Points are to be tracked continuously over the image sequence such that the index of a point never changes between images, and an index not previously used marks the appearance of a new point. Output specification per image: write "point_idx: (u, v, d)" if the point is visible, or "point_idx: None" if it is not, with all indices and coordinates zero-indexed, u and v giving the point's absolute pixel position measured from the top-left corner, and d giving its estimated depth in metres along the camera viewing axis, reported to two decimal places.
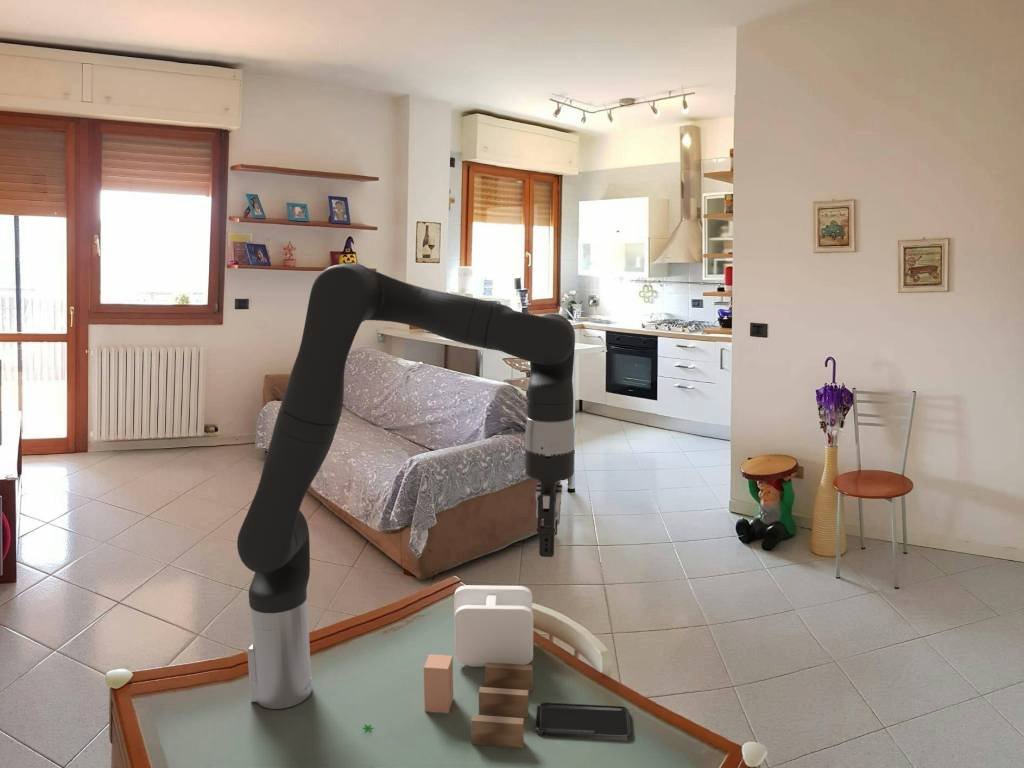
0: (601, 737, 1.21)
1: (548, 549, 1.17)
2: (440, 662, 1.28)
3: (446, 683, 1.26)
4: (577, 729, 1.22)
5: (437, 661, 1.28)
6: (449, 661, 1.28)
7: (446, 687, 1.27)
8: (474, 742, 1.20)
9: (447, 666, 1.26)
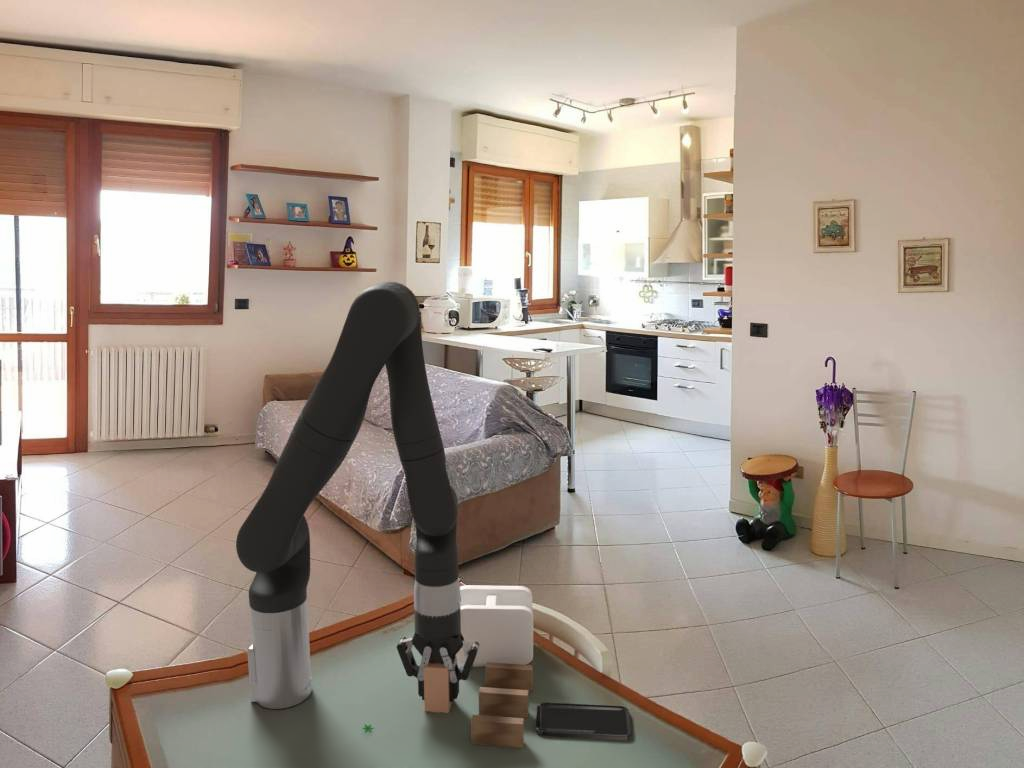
0: (601, 737, 1.21)
1: (458, 690, 1.29)
2: None
3: (446, 683, 1.26)
4: (577, 729, 1.22)
5: None
6: None
7: (446, 687, 1.27)
8: (474, 742, 1.20)
9: None
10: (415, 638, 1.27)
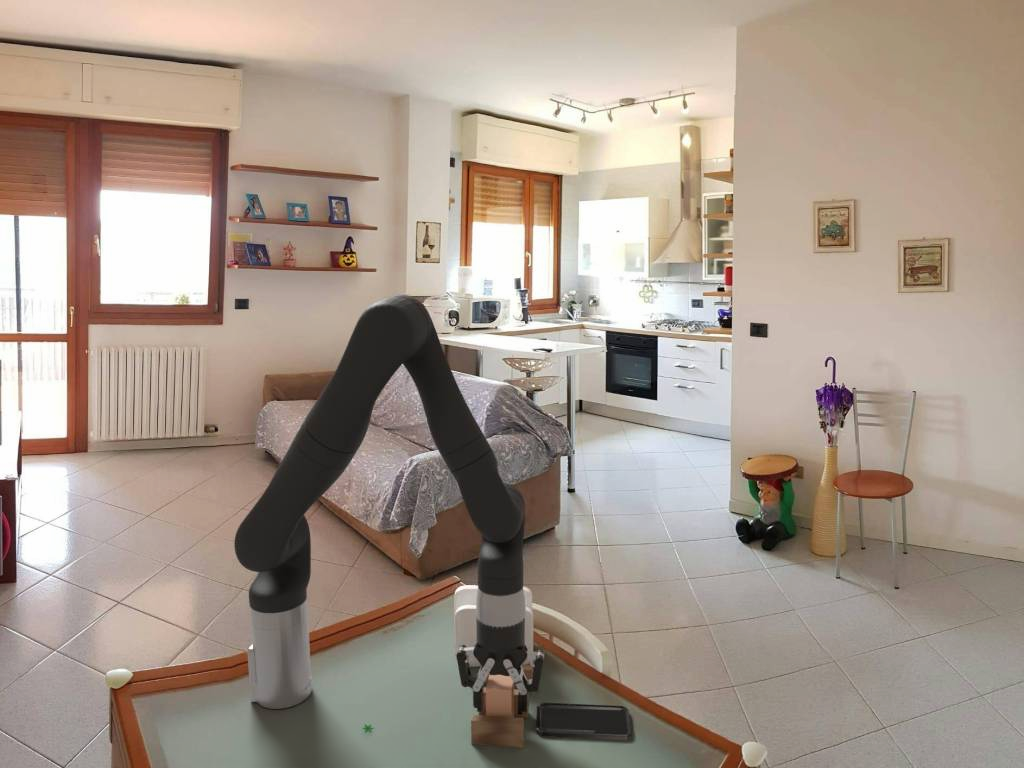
0: (602, 737, 1.21)
1: (527, 702, 1.23)
2: (502, 683, 1.22)
3: (509, 705, 1.21)
4: (577, 729, 1.22)
5: (499, 681, 1.22)
6: (511, 682, 1.22)
7: (509, 709, 1.21)
8: (474, 742, 1.20)
9: (510, 687, 1.21)
10: (478, 649, 1.20)
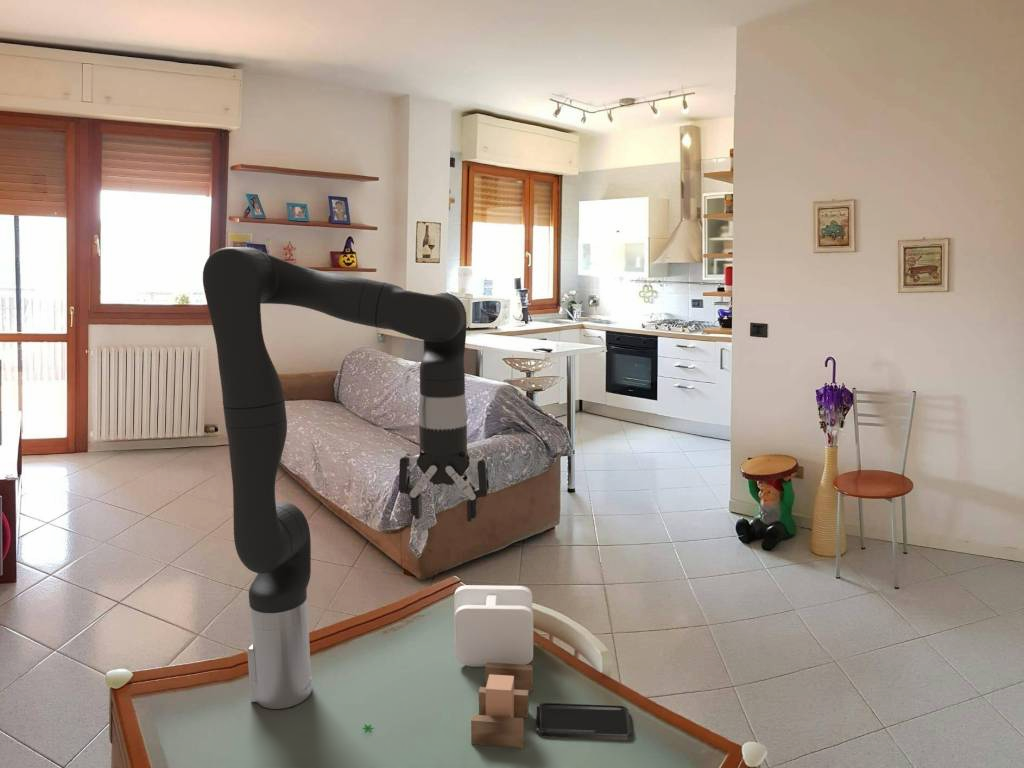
0: (602, 736, 1.21)
1: (476, 510, 1.25)
2: (502, 683, 1.22)
3: (509, 705, 1.21)
4: (577, 729, 1.22)
5: (499, 682, 1.22)
6: (511, 682, 1.22)
7: (509, 709, 1.21)
8: (474, 742, 1.20)
9: (510, 688, 1.21)
10: (422, 457, 1.23)
